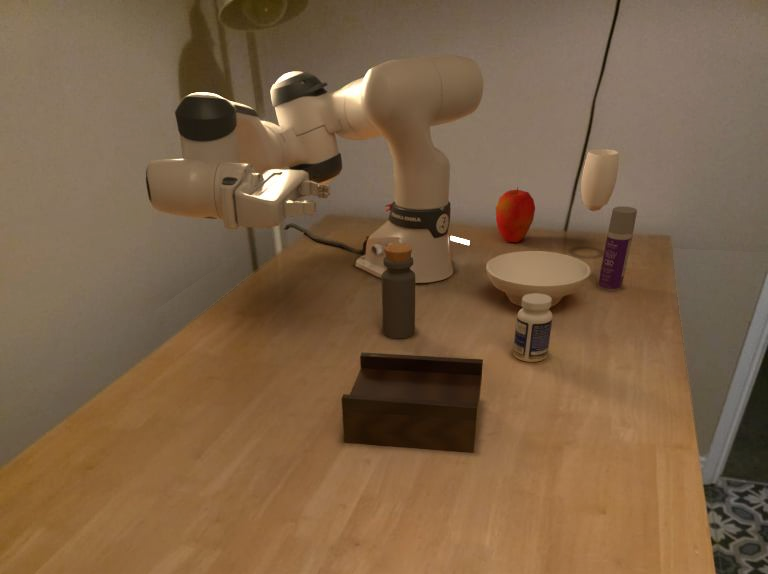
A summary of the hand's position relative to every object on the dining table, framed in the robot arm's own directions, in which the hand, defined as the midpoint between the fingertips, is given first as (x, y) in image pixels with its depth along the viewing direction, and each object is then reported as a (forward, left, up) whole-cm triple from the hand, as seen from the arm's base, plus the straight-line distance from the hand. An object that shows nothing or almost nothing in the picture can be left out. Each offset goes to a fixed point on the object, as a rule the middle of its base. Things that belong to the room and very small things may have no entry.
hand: (322, 199), depth 109 cm
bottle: (+10, +7, -22) cm, 26 cm away
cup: (+12, +68, -22) cm, 73 cm away
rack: (+33, -14, -22) cm, 42 cm away
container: (+27, +52, -22) cm, 63 cm away
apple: (-6, +64, -22) cm, 68 cm away
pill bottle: (+33, +15, -22) cm, 43 cm away
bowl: (+20, +35, -22) cm, 46 cm away
